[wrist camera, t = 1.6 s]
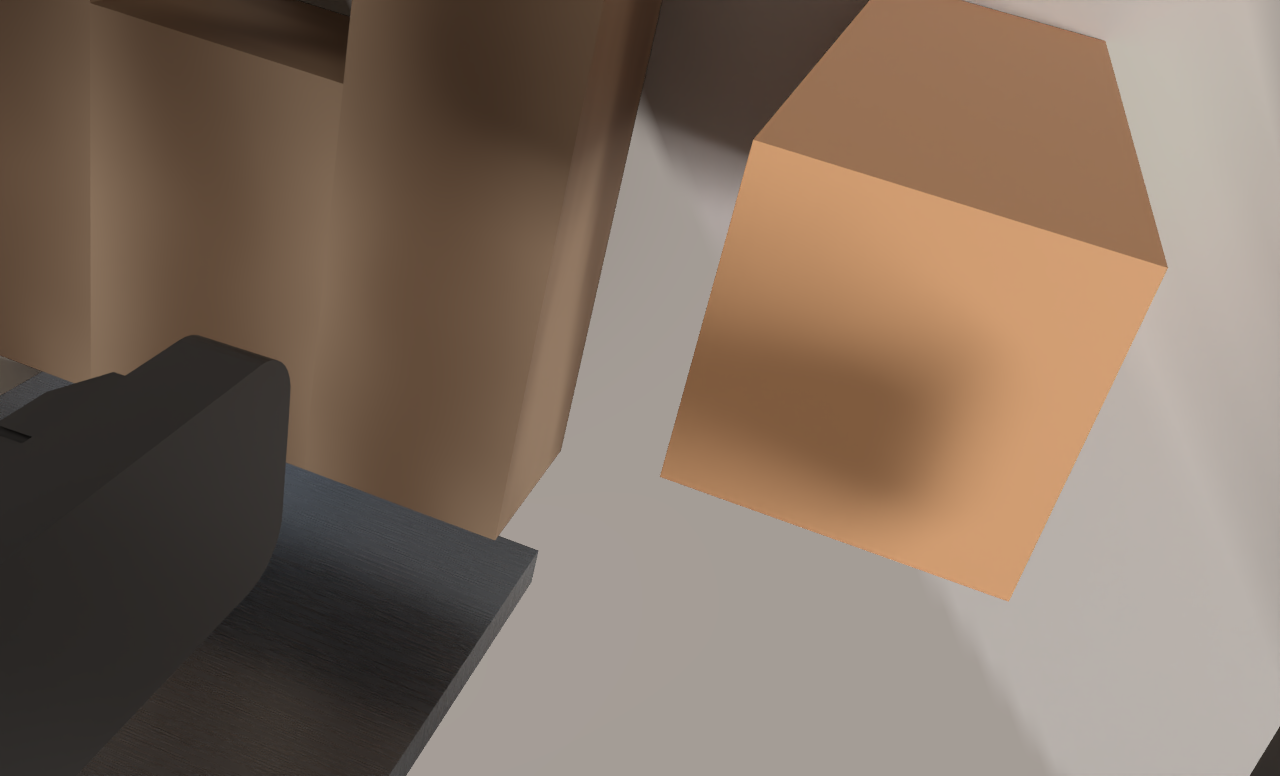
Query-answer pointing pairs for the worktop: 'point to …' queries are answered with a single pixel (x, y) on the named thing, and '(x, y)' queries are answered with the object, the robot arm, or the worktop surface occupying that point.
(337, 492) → the thin grey panel
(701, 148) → the worktop surface
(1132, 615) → the worktop surface
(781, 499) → the peg
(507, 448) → the socket block
